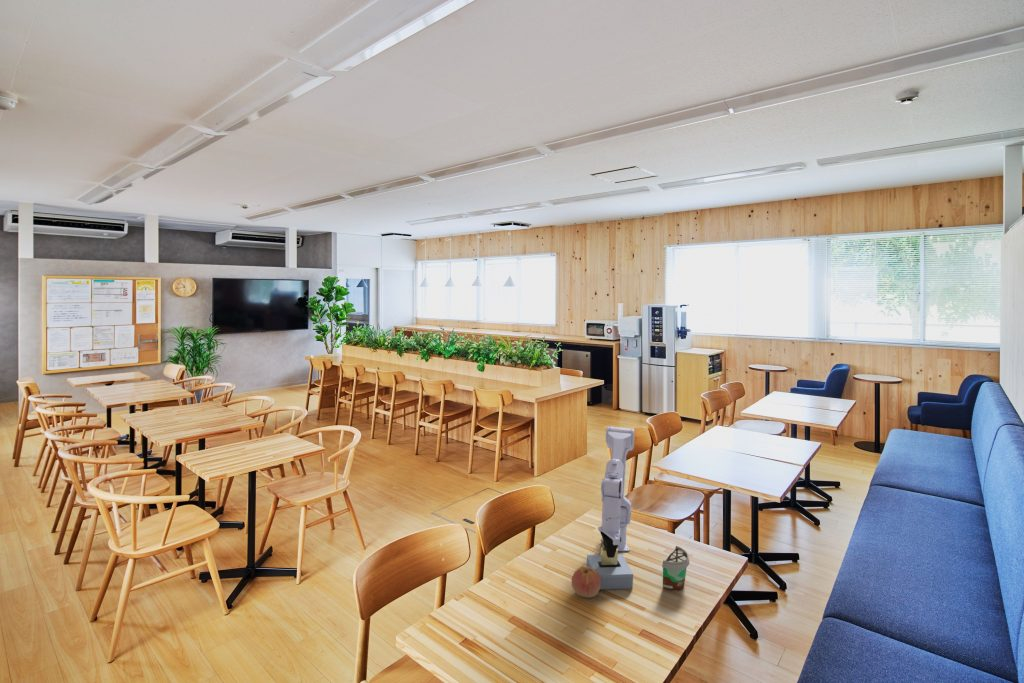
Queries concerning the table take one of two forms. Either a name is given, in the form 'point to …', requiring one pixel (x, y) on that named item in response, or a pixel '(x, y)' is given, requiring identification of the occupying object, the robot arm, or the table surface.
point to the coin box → (612, 573)
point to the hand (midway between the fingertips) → (609, 554)
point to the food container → (675, 570)
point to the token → (606, 560)
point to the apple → (586, 582)
